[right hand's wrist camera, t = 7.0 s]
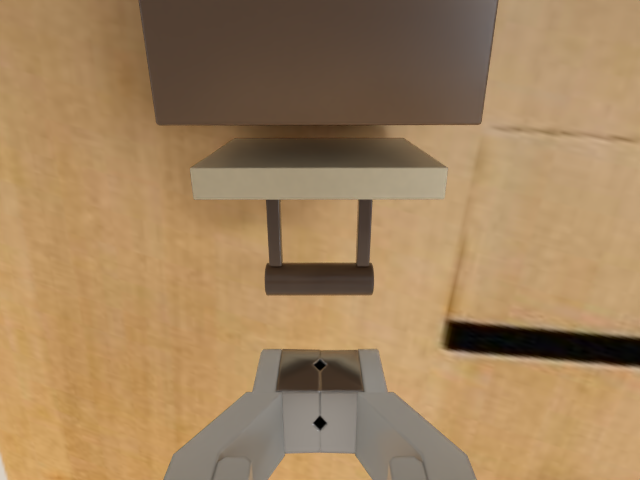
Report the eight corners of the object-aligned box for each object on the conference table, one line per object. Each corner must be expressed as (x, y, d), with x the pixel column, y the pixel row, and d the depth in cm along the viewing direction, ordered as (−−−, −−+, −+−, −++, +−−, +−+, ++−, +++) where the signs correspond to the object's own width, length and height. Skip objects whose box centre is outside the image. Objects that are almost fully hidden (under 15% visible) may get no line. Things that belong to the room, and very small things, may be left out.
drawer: (395, 254, 25) (429, 332, 17) (243, 255, 25) (208, 332, 17) (436, -310, 16) (545, -673, 8) (199, -309, 16) (88, -672, 8)
